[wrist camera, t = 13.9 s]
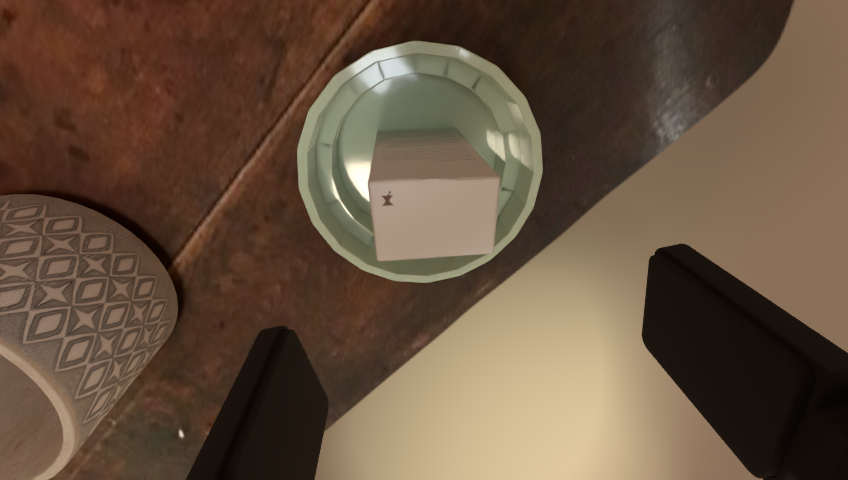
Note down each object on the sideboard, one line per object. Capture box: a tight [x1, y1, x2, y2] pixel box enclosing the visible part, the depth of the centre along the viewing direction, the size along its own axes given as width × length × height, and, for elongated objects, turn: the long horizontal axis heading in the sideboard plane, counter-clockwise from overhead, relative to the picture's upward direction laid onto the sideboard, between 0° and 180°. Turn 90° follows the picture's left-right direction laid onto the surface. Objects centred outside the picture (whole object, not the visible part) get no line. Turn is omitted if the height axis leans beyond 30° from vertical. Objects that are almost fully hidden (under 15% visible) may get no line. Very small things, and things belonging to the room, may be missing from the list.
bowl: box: [297, 41, 543, 283], centre depth 25 cm, size 15×15×6 cm
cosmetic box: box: [368, 128, 500, 261], centre depth 22 cm, size 6×4×12 cm
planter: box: [0, 194, 178, 480], centre depth 25 cm, size 16×16×13 cm
